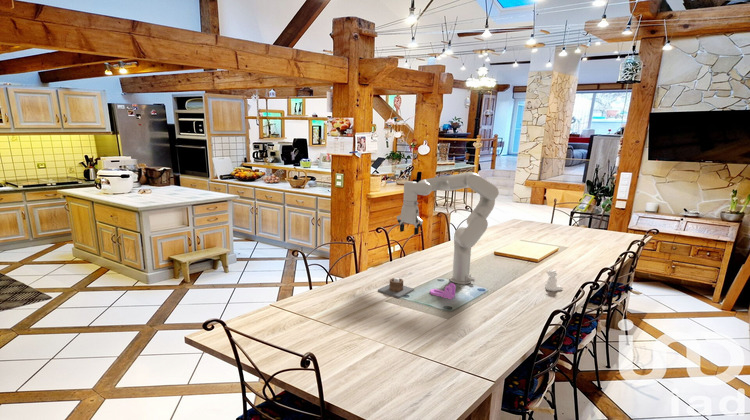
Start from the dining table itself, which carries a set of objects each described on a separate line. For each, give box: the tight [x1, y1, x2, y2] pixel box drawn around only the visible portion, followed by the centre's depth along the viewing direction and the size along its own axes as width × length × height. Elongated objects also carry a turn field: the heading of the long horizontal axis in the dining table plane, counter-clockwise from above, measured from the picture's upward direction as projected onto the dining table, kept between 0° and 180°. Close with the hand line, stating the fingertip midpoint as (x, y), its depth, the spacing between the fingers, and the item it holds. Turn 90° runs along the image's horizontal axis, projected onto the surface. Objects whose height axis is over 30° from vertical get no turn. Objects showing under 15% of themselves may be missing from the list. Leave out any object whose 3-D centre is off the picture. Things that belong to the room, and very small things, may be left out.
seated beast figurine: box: [544, 268, 564, 292], centre depth 226 cm, size 10×9×12 cm
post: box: [377, 277, 415, 299], centre depth 220 cm, size 14×14×7 cm
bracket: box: [429, 282, 457, 300], centre depth 216 cm, size 13×6×7 cm, turn 56°
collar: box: [389, 277, 404, 292], centre depth 220 cm, size 7×7×5 cm
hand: (409, 232), depth 232 cm, fingers open, 9 cm apart
